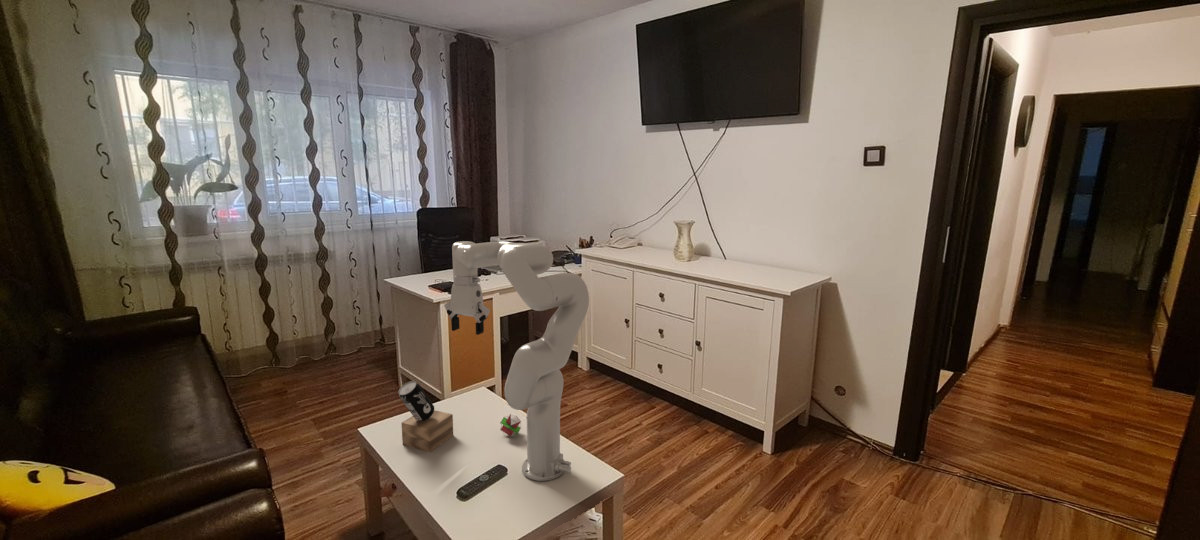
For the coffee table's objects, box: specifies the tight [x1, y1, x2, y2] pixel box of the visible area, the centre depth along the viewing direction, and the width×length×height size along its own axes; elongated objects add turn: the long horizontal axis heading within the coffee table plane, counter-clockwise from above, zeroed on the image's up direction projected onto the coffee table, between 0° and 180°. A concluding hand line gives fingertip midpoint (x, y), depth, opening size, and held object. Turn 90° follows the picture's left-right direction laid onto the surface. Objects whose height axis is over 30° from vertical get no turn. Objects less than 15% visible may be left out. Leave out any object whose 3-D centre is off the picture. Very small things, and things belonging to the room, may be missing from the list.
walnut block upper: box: [401, 409, 454, 441], centre depth 163 cm, size 11×11×4 cm
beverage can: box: [398, 380, 435, 421], centre depth 159 cm, size 7×7×12 cm
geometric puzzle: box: [499, 413, 522, 436], centre depth 166 cm, size 7×7×8 cm
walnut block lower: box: [401, 425, 454, 453], centre depth 164 cm, size 11×11×4 cm
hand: (467, 331), depth 165 cm, fingers open, 9 cm apart
